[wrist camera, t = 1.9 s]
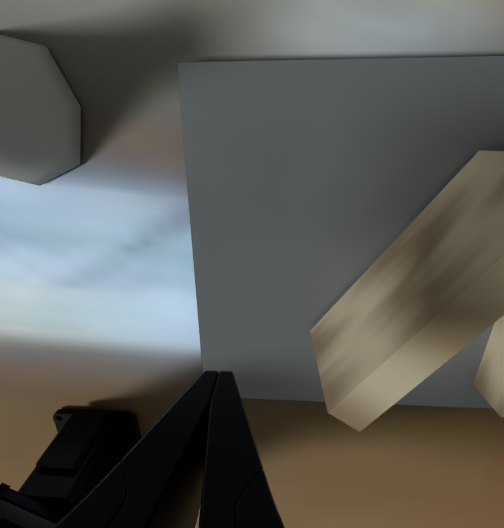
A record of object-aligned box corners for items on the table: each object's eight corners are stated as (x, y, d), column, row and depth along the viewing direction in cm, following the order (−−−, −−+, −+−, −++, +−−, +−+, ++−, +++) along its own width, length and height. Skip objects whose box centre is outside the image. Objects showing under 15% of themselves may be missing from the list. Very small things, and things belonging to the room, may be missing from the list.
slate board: (490, 397, 21) (500, 409, 20) (207, 386, 22) (204, 396, 21) (620, 59, 13) (646, 53, 13) (183, 67, 15) (177, 62, 14)
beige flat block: (479, 150, 14) (617, 154, 8) (505, 173, 14) (655, 192, 9) (310, 330, 18) (327, 412, 13) (332, 345, 18) (360, 432, 13)
